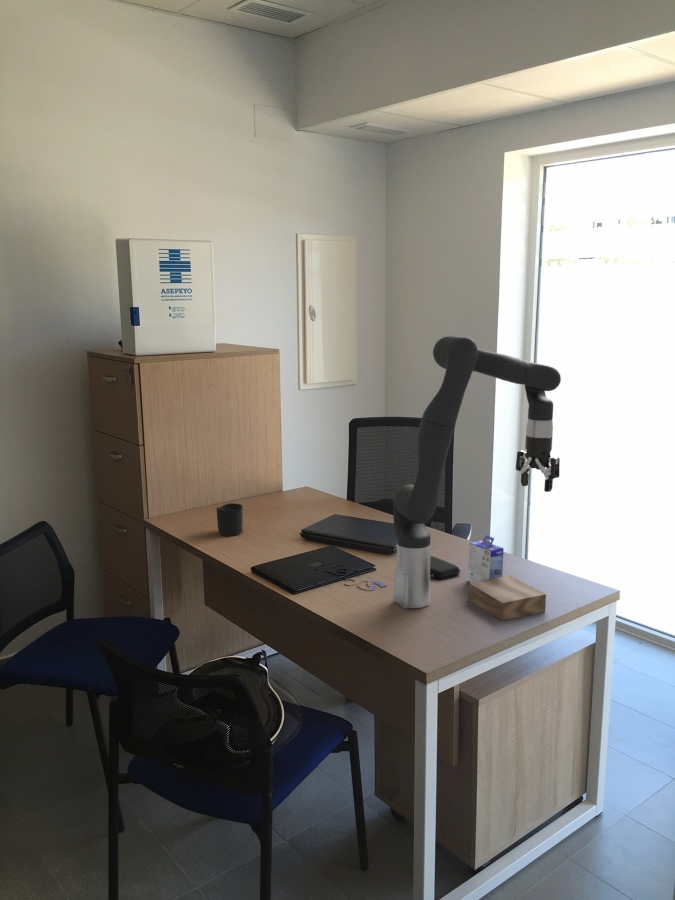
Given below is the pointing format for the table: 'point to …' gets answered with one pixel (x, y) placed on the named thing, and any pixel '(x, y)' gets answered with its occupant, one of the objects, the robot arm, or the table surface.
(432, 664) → the table surface
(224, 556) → the table surface
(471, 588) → the wooden block
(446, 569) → the carrying case or bag
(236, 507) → the pen holder
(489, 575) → the ink cartridge box
